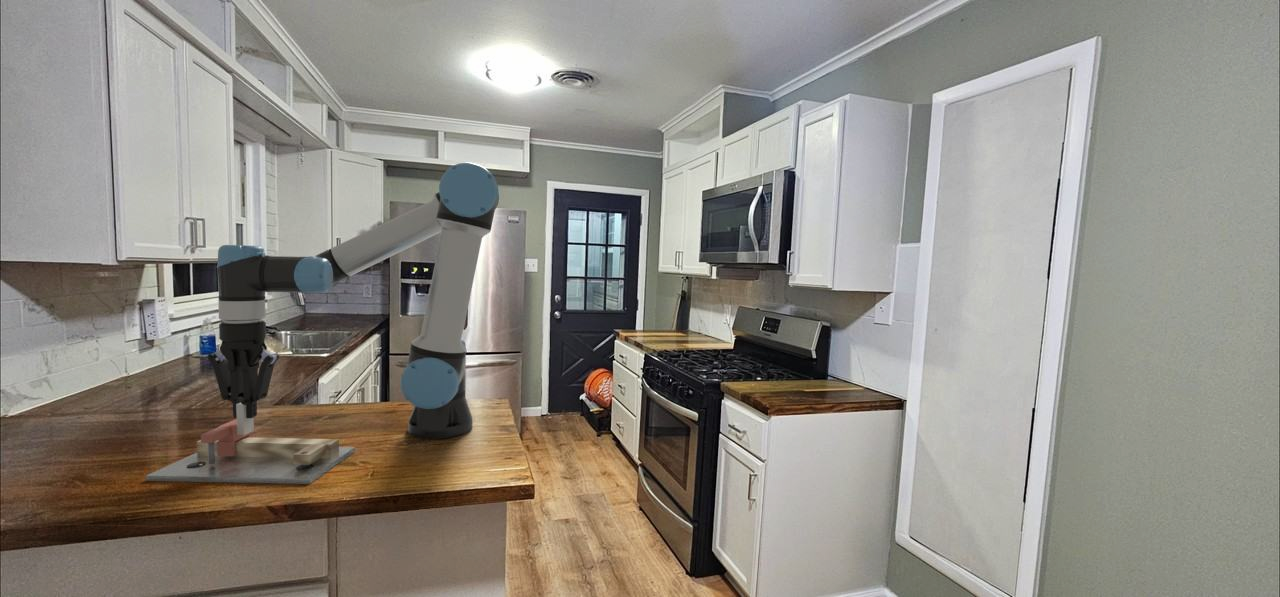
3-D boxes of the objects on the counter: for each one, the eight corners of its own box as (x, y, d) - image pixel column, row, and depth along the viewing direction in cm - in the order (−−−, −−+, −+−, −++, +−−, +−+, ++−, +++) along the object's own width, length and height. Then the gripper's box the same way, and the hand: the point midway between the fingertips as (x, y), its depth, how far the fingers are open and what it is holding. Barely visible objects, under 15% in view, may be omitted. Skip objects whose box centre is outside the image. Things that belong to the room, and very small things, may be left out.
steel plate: (355, 451, 111) (354, 446, 111) (309, 483, 95) (309, 478, 95) (215, 448, 110) (215, 443, 110) (146, 480, 94) (145, 474, 94)
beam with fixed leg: (339, 453, 107) (338, 439, 107) (314, 469, 99) (314, 455, 99) (209, 450, 106) (208, 436, 106) (173, 466, 98) (172, 451, 98)
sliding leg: (252, 447, 108) (251, 418, 107) (214, 466, 98) (213, 435, 98) (238, 446, 108) (237, 418, 107) (199, 465, 98) (197, 434, 97)
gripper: (287, 319, 107) (289, 427, 109) (224, 317, 106) (227, 426, 108) (262, 324, 99) (264, 440, 101) (194, 321, 99) (198, 438, 101)
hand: (245, 432), depth 105 cm, fingers closed
